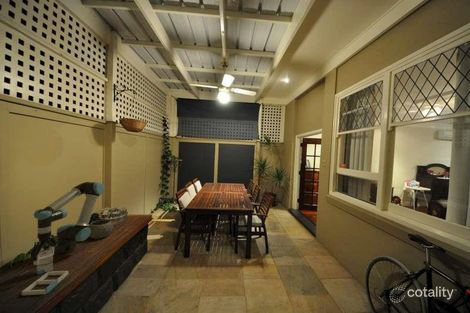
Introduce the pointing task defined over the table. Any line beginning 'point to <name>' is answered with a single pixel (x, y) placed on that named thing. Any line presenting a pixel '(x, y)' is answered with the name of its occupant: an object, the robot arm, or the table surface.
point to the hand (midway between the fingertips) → (44, 259)
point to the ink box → (45, 262)
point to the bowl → (100, 229)
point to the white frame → (42, 281)
